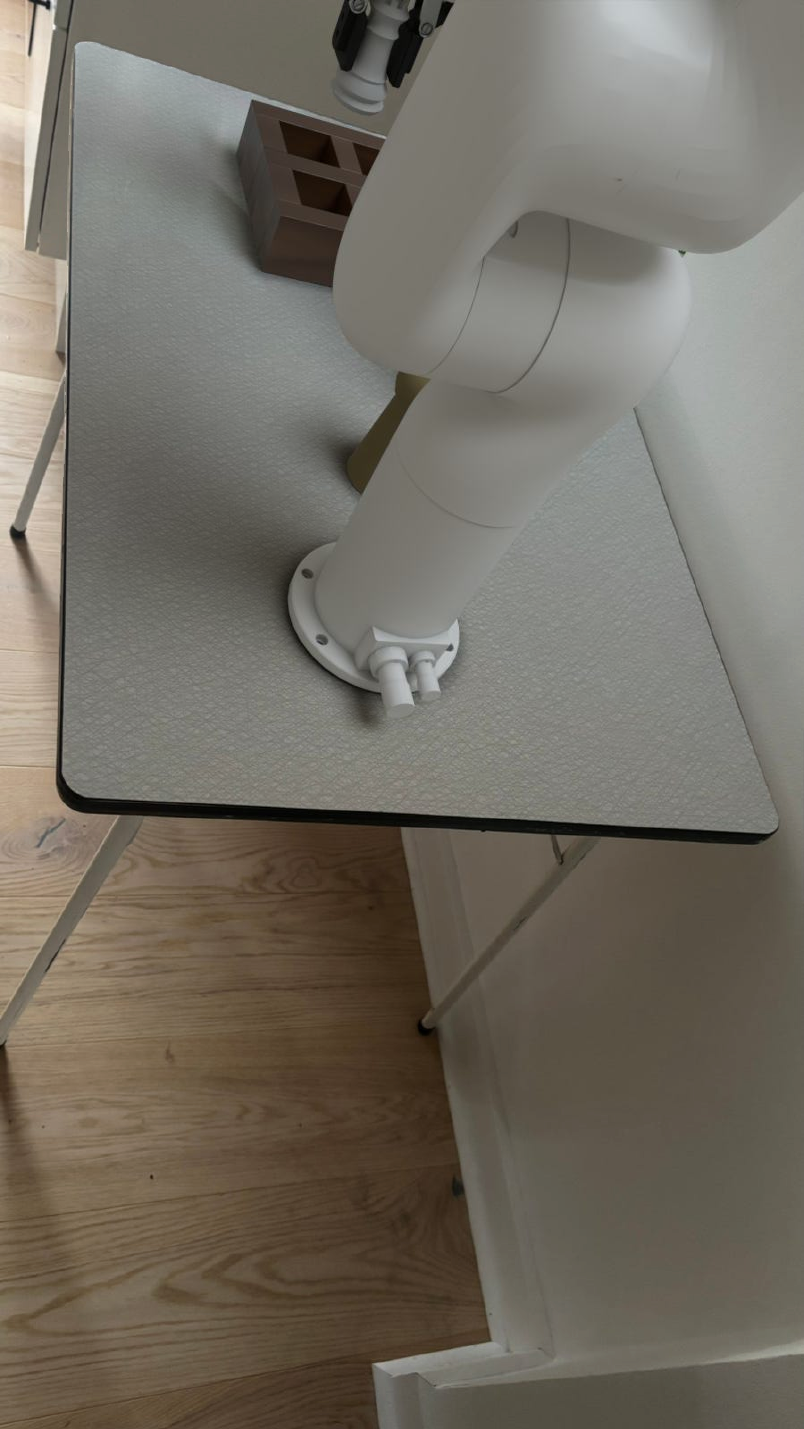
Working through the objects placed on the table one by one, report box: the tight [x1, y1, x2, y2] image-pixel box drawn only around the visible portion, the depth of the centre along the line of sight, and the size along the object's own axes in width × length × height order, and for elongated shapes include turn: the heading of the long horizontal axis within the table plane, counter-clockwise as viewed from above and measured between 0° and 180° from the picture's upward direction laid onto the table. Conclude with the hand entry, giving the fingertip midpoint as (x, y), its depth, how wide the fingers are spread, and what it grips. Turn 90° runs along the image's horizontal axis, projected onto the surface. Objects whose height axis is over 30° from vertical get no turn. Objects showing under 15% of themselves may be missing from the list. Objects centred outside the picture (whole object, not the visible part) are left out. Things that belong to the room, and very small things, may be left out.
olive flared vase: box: [346, 371, 431, 495], centre depth 75 cm, size 6×6×11 cm
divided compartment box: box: [235, 98, 386, 288], centre depth 93 cm, size 17×17×6 cm
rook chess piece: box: [330, 0, 411, 117], centre depth 76 cm, size 4×4×8 cm
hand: (367, 67), depth 78 cm, fingers closed on rook chess piece, 3 cm apart
